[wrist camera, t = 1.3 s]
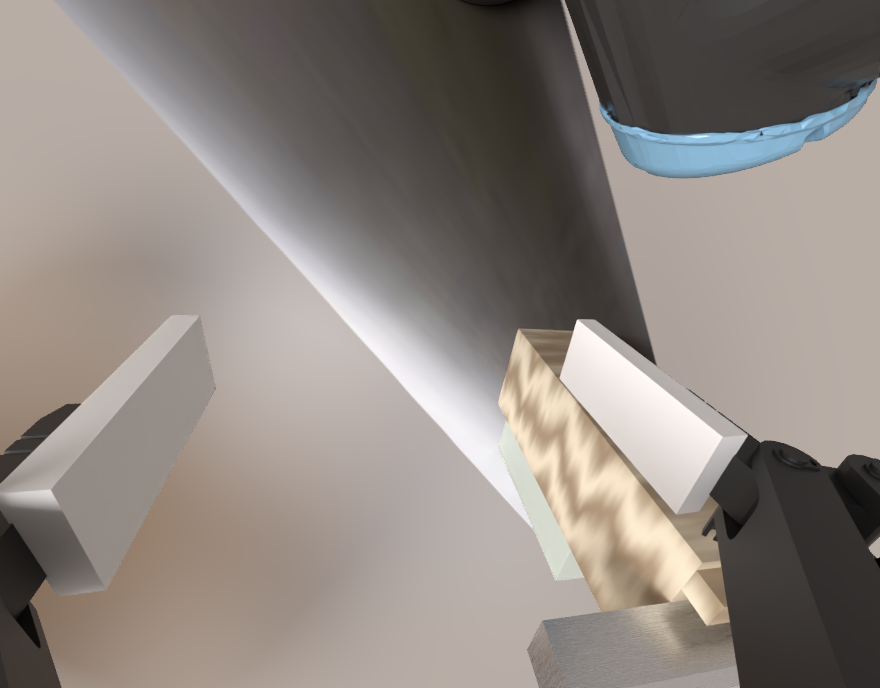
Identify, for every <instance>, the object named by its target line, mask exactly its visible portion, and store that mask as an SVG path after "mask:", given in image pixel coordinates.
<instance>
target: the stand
mask: <svg viewBox="0 0 880 688" xmlns="http://www.w3.org/2000/svg"><path fill="white" fill-rule="evenodd" d="M573 332H574V331H561V330H541V329H521V328H518V331H517V335H516V339H515V342H514V346H513V350H512V353H511V357H510V361H509V364H508V368H507V372H506V375H505V379H504V383H503V386H502V390H501V394H500V397H499V401H498V404H499V406H500V408H501V410H502V412H503V414H504V416H505V419H506V421H507V423H508V425H509V427H510V429H511V431H512V433H513V435H514V437H515V439H516V441H517V443H518V445H519V447H520V449H521V451H522V453H523V455H524V457H525V459H526V461H527V463H528V465H529V467H530V469H531V471H532V473H533V475H534V477H535V479H536V481H537V483H538V485H539V487H540V489H541V491H542V493H543V495H544V497H545V499H546V501H547V503H548V505H549V507H550V509H551V511H552V513H553V515H554V517H555V519H556V521H557V523H558V525H559V527H560V529H561V531H562V533H563V535H564V537H565V539H566V541H567V543H568V545H569V547H570V549H571V551H572V553H573V556H574V558H575V560H576V562H577V564H578V566H579V568H580V570H581V572H582V574H583V576H584V578H585V580H586V582H587V584H588V586H589V588H590V590H591V592H592V594H593V596H594V598H595V600H596V602H597V604H598V606H599V608H600V610H601V612H606V611H613V610H620V609H627V608H634V607H641V606H648V605H655V604H661V603H668V602H675V601H682V600H689V601H690V602H691V604H692V605H693V607H694V608H695V609H696V611H697V612H698V614H699V615H700V617H701V618H702V620H703V621H704V622H705V624H706V625H707V626H709V625H715V624H721V623H727V622H730V620H729V613H728V607H727V600H726V594H725V587H724V581H723V574H722V568H721V561H720V555H719V548H718V542H716V541H714V540H713V538H714V536H715V535H716V530H714V529H713V530H710V532H709V533H708V535H707V536H706V537H705V536H703V535H701V534H702V529H703V528H704V526H705V525H706V523H707V522H708V520H709V519H710V517H711V516H712V514H713V513H714V511H715V510H716V508H717V507H718V505H719V504H718V503H717V502H716V501H715V500H714V499H713V498H712V497H711V496H709V497H708V499H707V500H706V502H705V503H704V505H703V507H702V508H701V510H700V511H699V512H692V513H685V514H677V515H676V514H675V513H674V511H673V510H672V509H671V508H670V507H669V506H668V504H667V503H666V502H665V501H664V500H663V499H662V497H661V496H660V495H659V494H658V493H657V492H656V490H655V489H654V488H653V487H652V486H651V485H650V483H649V482H648V481H647V480H646V479H645V478H644V476H643V475H642V474H641V473H640V472H639V471H638V470H637V468H636V467H635V466H634V465H633V464H632V463H631V461H630V460H629V459H628V458H627V457H626V456H625V454H624V453H623V452H622V451H621V450H620V449H619V447H618V446H617V445H616V444H615V443H614V442H613V440H612V439H611V438H610V437H609V436H608V435H607V433H606V432H605V431H604V430H603V429H602V428H601V426H600V425H599V424H598V423H597V422H596V421H595V419H594V418H593V417H592V416H591V415H590V414H589V412H588V411H587V410H586V409H585V408H584V407H583V405H582V404H581V403H580V402H579V401H578V400H577V398H576V397H575V396H574V395H573V394H572V393H571V391H570V390H569V389H568V388H567V387H566V386H565V384H564V383H563V382H562V381H561V380H560V379H559V378H560V375H561V372H562V368H563V365H564V362H565V358H566V355H567V352H568V348H569V345H570V342H571V339H572V335H573Z"/></svg>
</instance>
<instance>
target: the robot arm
mask: <svg viewBox="0 0 880 688" xmlns="http://www.w3.org/2000/svg"><path fill="white" fill-rule="evenodd" d="M462 1H465V2H468V3H472V4H477V5H497V4H502V3H506V2H509V1H512V0H462ZM565 2H566V5H567V8H568V11H569V13H570V16H571V19H572V22H573V25H574V27H575V30H576V33H577V36H578V39H579V42H580V45H581V48H582V51H583V54H584V56H585V59H586V62H587V65H588V68H589V71H590V74H591V77H592V80H593V83H594V85H595V88H596V91H597V94H598V97H599V102H600V111H601V114H602V116H603V118H604V119H605V120H606V122H607V123H608V124H610V126H611V128H612V130H613V133H614V135H615V137H616V140H617V142H618V145H619V147H620V150H621V152H622V154H623V156H624V157H625V158H626V159H627V161H628V162H629V163H631V164H632V165H633V166H634V167H636V168H639V169H642V170H645V171H646V172H648V173H649V174H652V175H656V176H661V177H668V178H699V177H707V176H715V175H721V174H727V173H732V172H737V171H741V170H745V169H749V168H753V167H756V166H760V165H763V164H766V163H769V162H772V161H775V160H778V159H781V158H783V157H785V156H788V155H790V154H793V153H795V152H797V151H799V150H800V149H801V148H802V146H803V144H804V143H805V142H810V141H818V140H822V139H824V138H825V137H827V136H829V135H830V134H832V133H834V132H835V131H837V130H838V129H840V128H841V127H843V126H844V125H845V124H846V123H847V122H849V121H850V120H851V119H852V118H853V117H854V116H855V115H856V114H857V113H858V112H859V111H860V110H861V108H862V107H863V105H864V104H865V103H866V101H867V98H868V96H869V95H870V94H871V93H872V91H873V90H874V89H875V86H876V83H877V78H879V77H880V0H565ZM559 379H560V380H561V381H562V382H563V383H564V384H565V386H566V387H567V388H568V389H569V390H570V391H571V393H572V394H573V395H574V396H575V397H576V398H577V400H578V401H579V402H580V403H581V404H582V405H583V407H584V408H585V409H586V410H587V411H588V412H589V414H590V415H591V416H592V417H593V418H594V419H595V421H596V422H597V423H598V424H599V425H600V426H601V428H602V429H603V430H604V431H605V432H606V433H607V435H608V436H609V437H610V438H611V439H612V440H613V442H614V443H615V444H616V445H617V446H618V447H619V449H620V450H621V451H622V452H623V453H624V454H625V456H626V457H627V458H628V459H629V460H630V461H631V463H632V464H633V465H634V466H635V467H636V468H637V470H638V471H639V472H640V473H641V474H642V475H643V476H644V478H645V479H646V480H647V481H648V482H649V483H650V485H651V486H652V487H653V488H654V489H655V490H656V492H657V493H658V494H659V495H660V496H661V497H662V499H663V500H664V501H665V502H666V503H667V504H668V506H669V507H670V508H671V509H672V510H673V511H674V513H675V514H676V515H677V514H685V513H692V512H699V511H700V510H701V508H702V507H703V505H704V503H705V502H706V500H707V499H708V497H709V496H711V497H712V498H713V499H714V500H715V501H716V502H717V503H718V504H719V505H718V507H717V508H716V510H715V511H714V513H713V514H712V516H711V517H710V519H709V520H708V522H707V523H706V525H705V526H704V528H703V529H702V534H701V535H703V536H705V537H706V536H707V535H708V533H709V532H710V530H713V529H714V530H716V535H715V536H714V538H713V540H714V541H716V542H718V548H719V555H720V561H721V568H722V574H723V581H724V587H725V594H726V600H727V607H728V613H729V620H730V626H731V632H732V639H733V645H734V652H735V658H736V665H737V671H738V678H739V684H740V688H880V558H876V557H875V556H874V555H873V554H872V553H871V552H870V550H869V548H868V547H869V546H870V545H871V544H872V543H873V542H874V541H875V540H877V539H878V538H879V537H880V460H878V459H875V458H874V459H873V458H870V457H866V456H863V455H855V454H853V455H849V456H847V457H846V458H845V460H844V461H843V462H842V463H841V464H840V466H839V467H838V468H832V467H826V466H821V465H820V464H819V463H818V462H817V461H816V460H815V459H813V458H812V457H811V456H809V455H807V454H805V453H804V452H802V451H800V450H799V449H797V448H794V447H792V446H789V445H787V444H784V443H780V442H776V441H763V442H761V443H760V442H759V441H757V440H756V439H755V438H753V437H752V436H751V435H749V434H748V433H747V432H745V431H744V430H743V429H741V428H740V427H739V426H737V425H736V424H735V423H733V422H732V421H731V420H729V419H728V418H726V417H725V416H724V415H723V414H721V413H720V412H717V411H716V410H715V409H714V408H713V407H712V406H711V405H709V404H708V403H705V402H704V400H703V399H701V398H700V397H699V396H697V395H696V394H695V393H693V392H692V391H691V390H688V389H687V388H685V387H683V386H682V385H681V384H679V383H678V382H677V381H676V380H674V379H673V378H672V377H670V376H669V375H668V374H666V373H665V372H663V371H662V370H661V369H659V368H658V367H657V366H656V365H654V364H653V363H652V362H650V361H649V360H648V359H646V358H645V357H644V356H642V355H641V354H640V353H638V352H637V351H636V350H634V349H633V348H632V347H630V346H629V345H628V344H626V343H625V342H624V341H622V340H621V339H620V338H618V337H617V336H616V335H614V334H613V333H612V332H610V331H609V330H608V329H606V328H605V327H604V326H602V325H601V324H600V323H598V322H597V321H596V320H585V319H577V322H576V325H575V329H574V332H573V335H572V339H571V342H570V345H569V348H568V352H567V355H566V358H565V362H564V365H563V368H562V372H561V375H560V378H559ZM215 389H216V387H215V383H214V378H213V373H212V369H211V364H210V360H209V355H208V351H207V346H206V341H205V336H204V332H203V327H202V323H201V318H200V315H199V316H197V315H196V316H194V315H172V316H171V317H169V318H168V320H167V321H165V322H164V323H163V324H162V325H161V326H160V327H159V328H158V329H157V330H156V331H155V332H154V333H153V334H152V335H151V336H150V337H149V338H148V339H147V340H146V341H145V342H144V343H143V344H142V345H141V346H140V347H139V348H138V349H137V350H136V351H135V352H134V353H133V354H132V355H131V356H130V357H129V358H128V359H127V360H126V361H125V362H124V363H123V364H122V365H121V366H120V367H119V368H118V369H117V370H116V371H115V372H114V373H113V374H111V375H110V376H109V378H107V379H106V380H105V382H103V383H102V384H101V385H100V386H99V387H98V388H97V389H96V390H95V391H94V392H93V393H92V394H91V395H90V396H89V397H88V398H87V399H86V400H85V401H84V402H83V403H82V404H66V405H64V406H63V407H61V408H59V409H57V410H55V411H54V412H52V413H50V414H48V415H47V416H45V417H43V418H41V419H40V420H39V421H37V422H36V423H35V424H34V425H33V426H32V427H31V428H30V429H28V430H27V431H26V432H25V433H24V434H23V435H22V436H21V439H20V440H17V441H15V442H14V443H13V444H12V445H11V446H10V447H9V448H7V449H6V450H5V451H4V452H5V453H4V455H0V688H61V685H60V681H59V678H58V675H57V672H56V669H55V666H54V663H53V660H52V657H51V654H50V650H49V647H48V644H47V641H46V638H45V635H44V632H43V629H42V626H41V622H40V619H39V616H38V613H37V610H36V609H35V607H34V606H33V605H32V603H31V602H30V600H31V598H32V597H33V596H34V594H35V593H36V591H37V590H38V588H39V587H40V586H41V584H42V582H43V581H44V580H45V578H46V580H47V581H48V582H49V584H50V586H51V587H52V588H53V590H54V592H55V593H56V594H57V596H65V595H73V594H81V593H88V592H96V591H103V590H106V589H107V588H108V586H109V584H110V582H111V580H112V579H113V577H114V575H115V573H116V571H117V569H118V567H119V566H120V564H121V562H122V560H123V558H124V557H125V555H126V553H127V551H128V549H129V547H130V546H131V544H132V542H133V540H134V538H135V536H136V535H137V533H138V531H139V529H140V527H141V525H142V523H143V522H144V520H145V518H146V516H147V514H148V512H149V511H150V509H151V507H152V505H153V503H154V501H155V500H156V498H157V496H158V494H159V492H160V490H161V488H162V487H163V485H164V483H165V481H166V479H167V477H168V476H169V474H170V472H171V470H172V468H173V466H174V465H175V463H176V461H177V459H178V457H179V455H180V454H181V452H182V450H183V448H184V446H185V444H186V443H187V441H188V439H189V437H190V435H191V433H192V432H193V430H194V428H195V426H196V424H197V422H198V420H199V419H200V417H201V415H202V413H203V411H204V410H205V407H206V406H207V404H208V402H209V400H210V399H211V397H212V395H213V393H214V391H215Z"/></svg>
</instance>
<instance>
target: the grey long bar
mask: <svg viewBox="0 0 880 688" xmlns="http://www.w3.org/2000/svg"><path fill="white" fill-rule="evenodd" d="M527 651H528V654H529V657H530V660H531V663H532V666H533V670H534V673H535V676H536V679H537V682H538V685H539V688H728V687H733V686H737V685H740V684H739V678H738V671H737V665H736V658H735V652H734V645H733V639H732V632H731V626H730V622H727V623H721V624H715V625H709V626H707V625H706V624H705V622H704V621H703V620H702V618H701V617H700V615H699V614H698V612H697V611H696V609H695V608H694V607H693V605H692V604H691V602H690V601H689V600H682V601H675V602H668V603H661V604H655V605H648V606H641V607H634V608H627V609H620V610H613V611H606V612H600V613H593V614H586V615H579V616H572V617H565V618H558V619H551V620H544V621H542V622H541V624H540V626H539V628H538V630H537V632H536V634H535V636H534V637H533V639H532V641H531V643H530V645H529V647H528V649H527Z"/></svg>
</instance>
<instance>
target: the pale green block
mask: <svg viewBox="0 0 880 688" xmlns="http://www.w3.org/2000/svg"><path fill="white" fill-rule="evenodd" d="M498 448H499V450H500V452H501V455H502V457H503V459H504V462H505V464H506V466H507V469H508V471H509V473H510V476H511V478H512V480H513V483H514V485H515V487H516V490H517V492H518V494H519V497H520V499H521V501H522V504H523V506H524V508H525V511H526V513H527V515H528V518H529V520H530V522H531V525H532V527H533V529H534V532H535V534H536V536H537V539H538V541H539V543H540V546H541V548H542V550H543V553H544V555H545V557H546V560H547V562H548V564H549V567H550V569H551V571H552V574H553V576H554V578H555V580H556V581H559V580H567V579H575V578H584V576H583V574H582V572H581V570H580V568H579V566H578V564H577V562H576V560H575V558H574V556H573V553H572V551H571V549H570V547H569V545H568V543H567V541H566V539H565V537H564V535H563V533H562V531H561V529H560V527H559V525H558V523H557V521H556V519H555V517H554V515H553V513H552V511H551V509H550V507H549V505H548V503H547V501H546V499H545V497H544V495H543V493H542V491H541V489H540V487H539V485H538V483H537V481H536V479H535V477H534V475H533V473H532V471H531V469H530V467H529V465H528V463H527V461H526V459H525V457H524V455H523V453H522V451H521V449H520V447H519V445H518V443H517V441H516V439H515V437H514V435H513V433H512V431H511V429H510V427H509V425H508V423H507V421H506V422H505V425H504V429H503V432H502V435H501V439H500V442H499V446H498Z"/></svg>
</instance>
